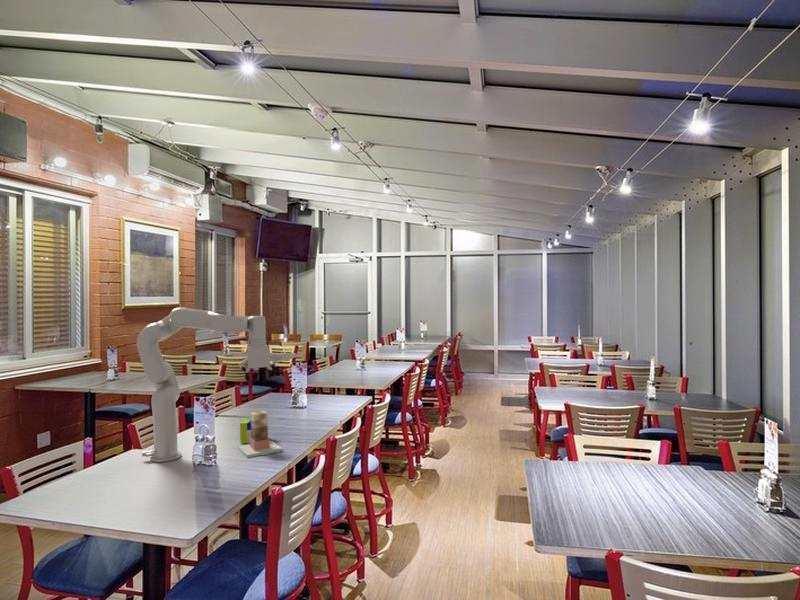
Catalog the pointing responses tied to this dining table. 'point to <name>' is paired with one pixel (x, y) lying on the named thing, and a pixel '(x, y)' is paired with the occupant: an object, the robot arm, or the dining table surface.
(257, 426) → the maple brick
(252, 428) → the walnut brick
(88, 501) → the dining table surface
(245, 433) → the puzzle toy
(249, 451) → the build board
